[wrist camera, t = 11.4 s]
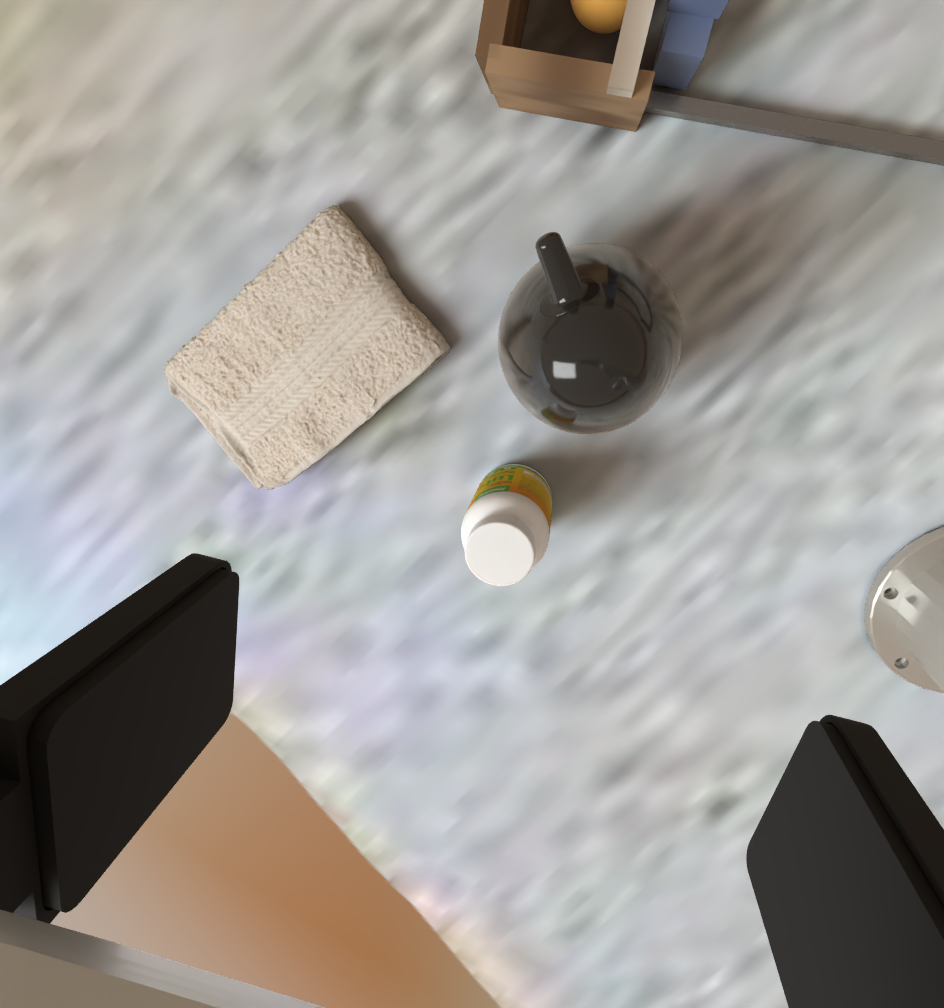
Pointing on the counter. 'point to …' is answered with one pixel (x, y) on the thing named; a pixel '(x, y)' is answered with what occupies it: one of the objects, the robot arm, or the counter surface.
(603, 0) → the ball
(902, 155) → the track
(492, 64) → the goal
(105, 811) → the robot arm
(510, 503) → the supplement bottle
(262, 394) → the washcloth
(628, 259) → the pump dispenser
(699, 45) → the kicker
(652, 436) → the counter surface
